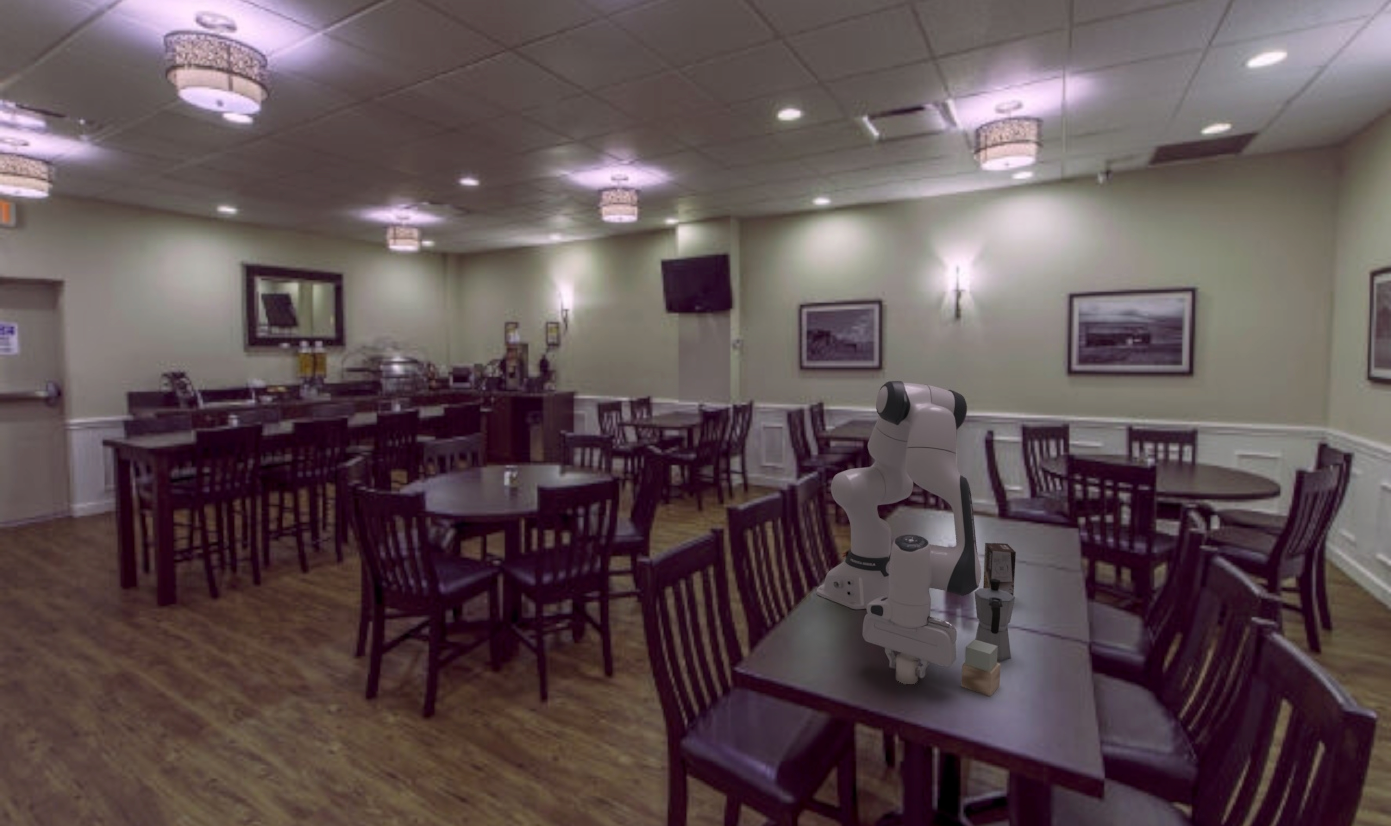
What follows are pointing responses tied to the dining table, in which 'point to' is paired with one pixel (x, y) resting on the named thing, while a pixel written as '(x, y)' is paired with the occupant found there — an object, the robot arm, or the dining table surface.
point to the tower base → (981, 679)
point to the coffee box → (999, 566)
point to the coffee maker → (994, 617)
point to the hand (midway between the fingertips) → (906, 671)
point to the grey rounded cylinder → (906, 668)
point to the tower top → (981, 655)
